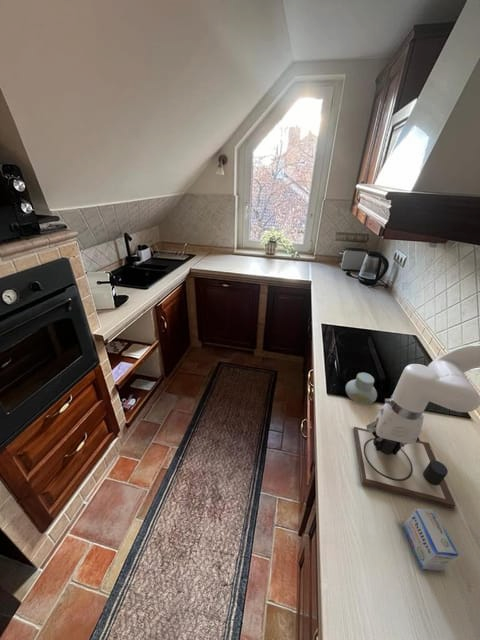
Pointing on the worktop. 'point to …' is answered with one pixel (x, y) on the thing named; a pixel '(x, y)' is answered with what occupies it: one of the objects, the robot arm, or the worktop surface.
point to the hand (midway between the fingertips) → (384, 448)
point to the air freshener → (362, 389)
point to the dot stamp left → (387, 446)
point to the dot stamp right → (435, 472)
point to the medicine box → (429, 540)
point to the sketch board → (399, 470)
